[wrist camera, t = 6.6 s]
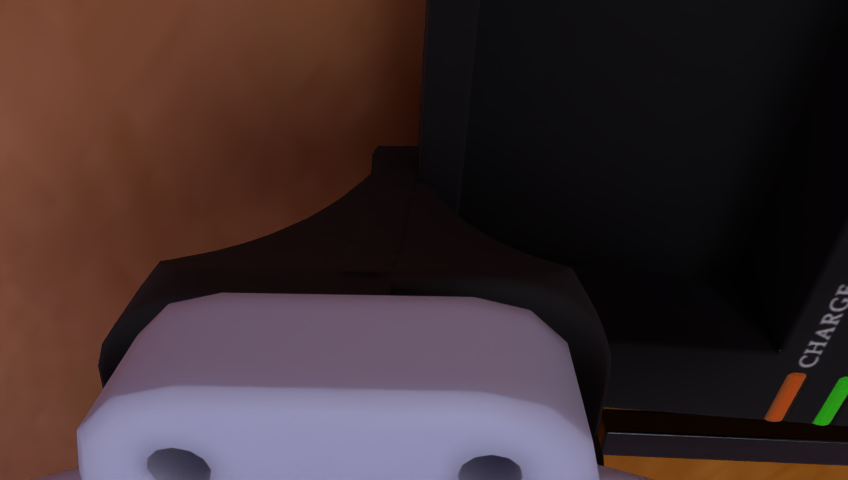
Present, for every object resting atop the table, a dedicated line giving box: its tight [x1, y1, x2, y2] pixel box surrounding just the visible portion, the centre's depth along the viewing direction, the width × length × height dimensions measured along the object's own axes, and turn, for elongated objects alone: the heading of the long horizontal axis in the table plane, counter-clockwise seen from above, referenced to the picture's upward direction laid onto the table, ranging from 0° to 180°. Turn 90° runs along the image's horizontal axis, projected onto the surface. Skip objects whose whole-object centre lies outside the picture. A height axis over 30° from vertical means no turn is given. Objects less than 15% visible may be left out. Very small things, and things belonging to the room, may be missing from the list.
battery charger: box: [418, 0, 848, 426], centre depth 11 cm, size 13×10×4 cm
